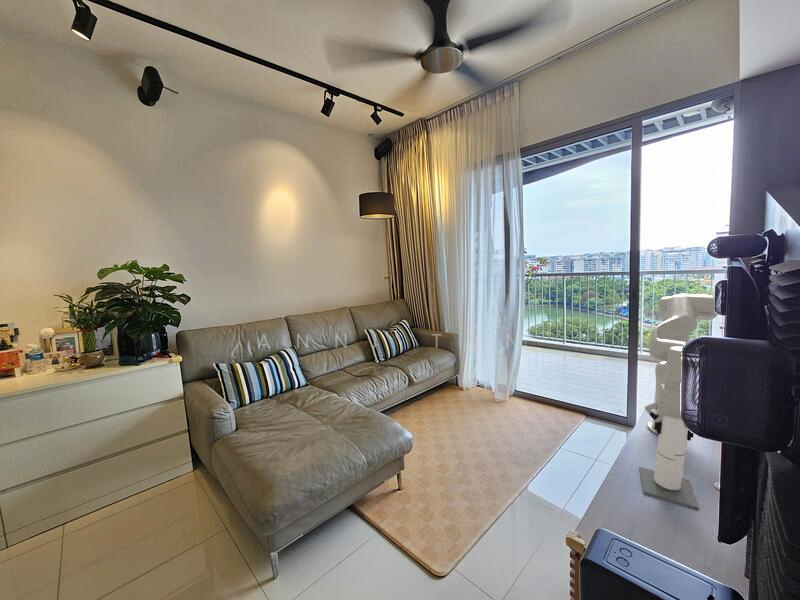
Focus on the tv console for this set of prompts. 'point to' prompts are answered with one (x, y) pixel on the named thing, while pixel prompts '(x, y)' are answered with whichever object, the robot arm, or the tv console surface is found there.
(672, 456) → the cylindrical container
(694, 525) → the tv console surface
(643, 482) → the rubber mat
